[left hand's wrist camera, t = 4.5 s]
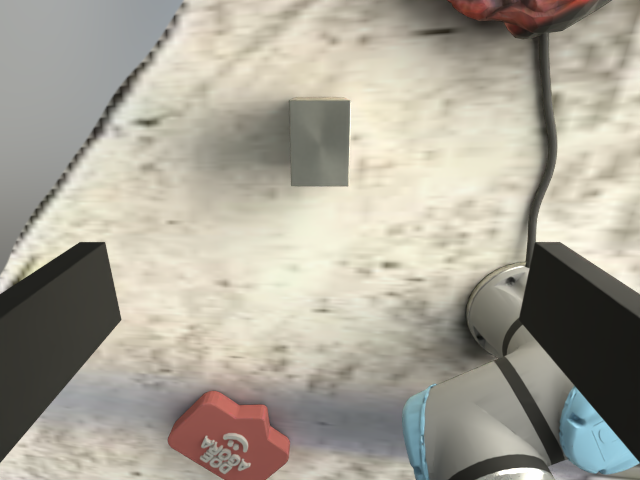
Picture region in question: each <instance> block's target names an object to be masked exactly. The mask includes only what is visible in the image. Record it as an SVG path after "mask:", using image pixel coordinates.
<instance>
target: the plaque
mask: <svg viewBox="0 0 640 480" xmlns="http://www.w3.org/2000/svg"><path fill="white" fill-rule="evenodd" d="M168 444H169V445H170V447H171V448H173V449H174V450H176V451H178V452H179V453H181V454H183V455H184V456H186V457H188V458H189V459H191V460H193V461H194V462H196V463H198V464H199V465H201V466H203V467H204V468H206V469H208V470H209V471H211V472H213V473H214V474H216V475H218V476H219V477H221V478H222V479H224V480H266V479H267V478H268V477H270V476H271V475H272V474H273V473H274V472H276V471H277V470H278V469H279V468H281V467H282V466H283V465H284V464H285V463H286V462H287V461H288V458H289V447H290V441H289V439H288V438H287V437H286V436H284V435H283V434H281V433H280V432H278V431H277V430H275V429H274V428H272V427H271V426H270V423H269V416H268V410H267V407H266V406H265V405H238V404H237V403H235V402H234V401H232V400H231V399H229V398H228V397H226V396H224V395H223V394H221V393H220V392H217V391H210V392H207V393H205V394H203V395H202V396H201V397H200V398H199V399H198V400H197V401H196V402H195V403H194V404H193V405H192V406H191V407H190V408H189V409H188V410H187V411H186V412H185V413H184V414H183V415H182V416H181V417H180V418H179V419H178V420H177V421H176V422H175V424H174V426H173V428H172V430H171V433H170V435H169V437H168Z"/></svg>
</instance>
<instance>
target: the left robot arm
mask: <svg viewBox="0 0 640 480" xmlns="http://www.w3.org/2000/svg"><path fill="white" fill-rule="evenodd" d="M539 60H540V75H541V88H542V101H543V110H544V117H545V123H546V128H547V135H548V159H547V165H546V169H545V173H544V176H543V178H542V181H541V183H540V186H539V188H538V190H537V193H536V195H535V198H534V200H533V203H532V207H531V211H530V215H529V222H528V241H527V253H526V262H520V263H514V264H510V265H507V266H504V267H502V268H499V269H497V270H495V271H494V272H492V273H490V274H489V275H488V276H486V277H485V278H484V279H483V280H482V281H481V282H480V283H479V284H478V285H477V286H476V288H475V289H474V291H473V292H472V294H471V296H470V298H469V300H468V303H467V308H466V321H467V325H468V328H469V330H470V332H471V334H472V335H473V337H474V338H475V340H476V341H477V342H478V343H479V344H480V345H481V347H483V348H484V349H485V350H486V351H487V352H489V353H490V354H492V355H493V356H495V357H497V358H498V359H497V360H495V361H492V362H489V363H487V364H485V365H482V366H480V367H478V368H475V369H473V370H471V371H468V372H466V373H464V374H461V375H459V376H456V377H454V378H452V379H449V380H447V381H445V382H442V383H440V384H438V385H437V384H433V385H430V386H429V387H428V388H427V389H426V390H424V391H422V392H420V393H418V394H416V395H414V396H412V397H410V398H409V399H408V400H407V402H406V404H405V405H404V408H403V412H402V427H403V435H404V440H405V445H406V450H407V454H408V457H409V461H410V464H411V466H412V467H413V468H414V474H415V478H416V480H555V479H554V477H553V475H552V474H551V472H550V470H549V468H548V466H550V465H553V464H555V463H558V462H561V461H564V460H567V459H568V460H569V461H571V462H572V463H573V464H574V465H576V466H578V467H579V468H580V469H582V470H584V471H587V472H589V473H594V474H596V473H597V472H598V471H599V472H600V473H601V474H613V473H618V472H621V471H624V470H627V469H629V468H631V467H634V466H635V465H637V464H639V463H640V294H639V293H637V292H635V291H634V290H632V289H631V288H629V287H628V286H626V285H625V284H623V283H622V282H620V281H619V280H617V279H616V278H614V277H613V276H611V275H609V274H608V273H606V272H605V271H603V270H602V269H600V268H599V267H597V266H596V265H594V264H593V263H591V262H590V261H588V260H587V259H585V258H583V257H582V256H580V255H579V254H577V253H576V252H574V251H573V250H571V249H570V248H568V247H567V246H565V245H564V244H562V243H560V242H536V224H537V217H538V212H539V208H540V205H541V202H542V199H543V197H544V195H545V192H546V190H547V188H548V185H549V183H550V180H551V178H552V175H553V172H554V168H555V164H556V157H557V133H556V126H555V120H554V114H553V106H552V96H551V80H550V66H549V33H544V34H542V35H540V36H539ZM120 321H121V316H120V311H119V306H118V301H117V297H116V292H115V287H114V282H113V278H112V273H111V268H110V263H109V259H108V254H107V249H106V244H105V242H80V243H78V244H76V245H75V246H73V247H72V248H70V249H69V250H67V251H66V252H64V253H63V254H61V255H60V256H58V257H57V258H55V259H53V260H52V261H50V262H49V263H47V264H46V265H44V266H43V267H41V268H40V269H38V270H37V271H35V272H34V273H32V274H31V275H29V276H27V277H26V278H24V279H23V280H21V281H20V282H18V283H17V284H15V285H14V286H12V287H11V288H9V289H8V290H6V291H5V292H3V293H1V294H0V462H1V461H2V460H3V459H4V458H5V457H6V455H7V454H8V453H9V452H10V451H11V450H12V448H13V447H14V446H15V445H16V444H17V442H18V441H19V440H20V439H21V438H22V437H23V435H24V434H25V433H26V432H27V431H28V429H29V428H30V427H31V426H32V425H33V424H34V422H35V421H36V420H37V419H38V418H39V416H40V415H41V414H42V413H43V412H44V411H45V409H46V408H47V407H48V406H49V405H50V403H51V402H52V401H53V400H54V399H55V398H56V396H57V395H58V394H59V393H60V392H61V390H62V389H63V388H64V387H65V386H66V385H67V383H68V382H69V381H70V380H71V379H72V378H73V376H74V375H75V374H76V373H77V372H78V370H79V369H80V368H81V367H82V366H83V365H84V363H85V362H86V361H87V360H88V359H89V357H90V356H91V355H92V354H93V353H94V352H95V350H96V349H97V348H98V347H99V346H100V344H101V343H102V342H103V341H104V340H105V339H106V337H107V336H108V335H109V334H110V333H111V331H112V330H113V329H114V328H115V327H116V326H117V324H118V323H119V322H120Z"/></svg>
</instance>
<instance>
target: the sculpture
mask: <svg viewBox="0 0 640 480" xmlns="http://www.w3.org/2000/svg"><path fill="white" fill-rule="evenodd" d="M447 1H449V2H450V3H452V6H453V7H454V8H455V9H456V10H457V11H458V12H460V13H462V14H463V15H465V16H467V17H469V18H472V19H475V20H478V21H491V20H495V21H501V22H504V24H505V26H506V27H507V29H508V31H509V32H510V33H511V34H512V35H513V36H514V37H515V38H520V39H528V38H535V37H537V36H540V35H542V34H544V33H549V32H557V31H563V30H564V29H566V28H568V27H569V26H571V25H573V24H574V23H576V22H578V21H579V20H581V19H583V18H584V17H586V16H588V15H589V14H591V13H593V12H594V11H596V10H598V9H599V8H601V7H602V6H604V5H605V4H607V3H608V2H610V1H612V0H447Z"/></svg>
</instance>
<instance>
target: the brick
mask: <svg viewBox="0 0 640 480" xmlns="http://www.w3.org/2000/svg"><path fill="white" fill-rule="evenodd" d="M289 118H290V157H291V186H349V161H350V124H351V100H349V99H346V98H317V97H296V98H294V99H292V100H289Z"/></svg>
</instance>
